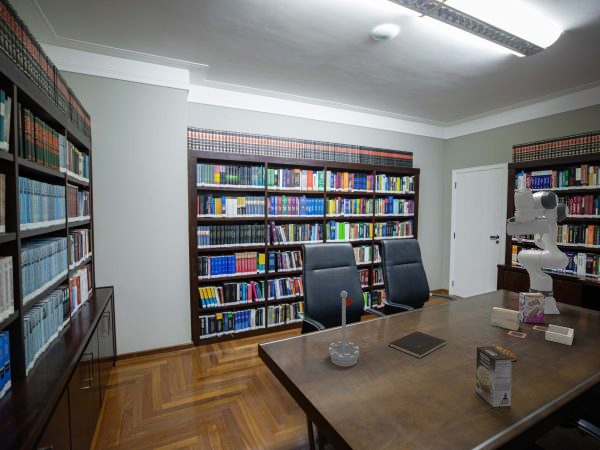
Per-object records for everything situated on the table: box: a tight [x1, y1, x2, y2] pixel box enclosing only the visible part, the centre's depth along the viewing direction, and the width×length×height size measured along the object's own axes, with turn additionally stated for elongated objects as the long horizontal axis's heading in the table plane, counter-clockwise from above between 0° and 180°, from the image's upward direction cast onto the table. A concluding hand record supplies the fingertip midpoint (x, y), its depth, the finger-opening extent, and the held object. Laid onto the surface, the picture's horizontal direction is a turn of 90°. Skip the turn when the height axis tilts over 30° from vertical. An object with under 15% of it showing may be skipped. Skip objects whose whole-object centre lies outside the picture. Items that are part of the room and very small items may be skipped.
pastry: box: [492, 344, 517, 362], centre depth 131 cm, size 9×7×4 cm
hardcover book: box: [388, 330, 447, 359], centre depth 143 cm, size 16×23×2 cm
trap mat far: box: [532, 325, 549, 333], centre depth 162 cm, size 7×7×1 cm
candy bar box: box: [518, 292, 545, 324], centre depth 173 cm, size 11×5×16 cm, turn 84°
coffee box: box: [475, 345, 513, 408], centre depth 101 cm, size 9×6×16 cm
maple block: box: [490, 306, 520, 332], centre depth 167 cm, size 6×12×9 cm, turn 45°
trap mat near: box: [507, 330, 527, 339], centre depth 155 cm, size 7×7×1 cm
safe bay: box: [545, 324, 575, 346], centre depth 150 cm, size 14×10×4 cm
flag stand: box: [328, 290, 360, 367], centre depth 128 cm, size 13×13×30 cm
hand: (529, 242), depth 168 cm, fingers open, 8 cm apart
